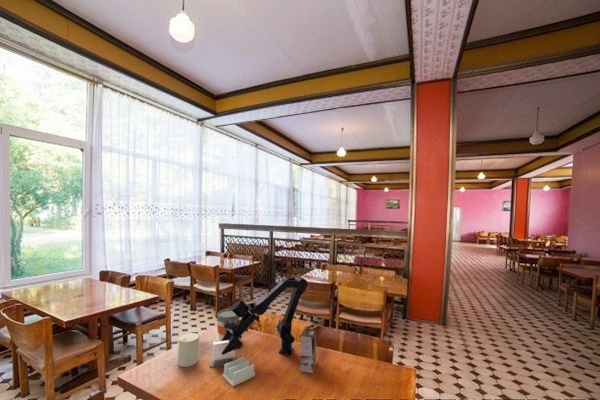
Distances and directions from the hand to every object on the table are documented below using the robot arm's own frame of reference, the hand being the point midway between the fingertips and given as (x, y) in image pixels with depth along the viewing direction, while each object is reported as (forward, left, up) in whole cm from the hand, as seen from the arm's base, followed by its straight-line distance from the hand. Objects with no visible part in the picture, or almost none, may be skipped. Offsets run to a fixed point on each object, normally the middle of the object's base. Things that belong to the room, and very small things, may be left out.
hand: (221, 349), depth 126 cm
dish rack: (+6, +13, -7) cm, 16 cm away
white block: (-1, +1, -7) cm, 7 cm away
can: (+3, -16, -7) cm, 18 cm away
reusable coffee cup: (-22, -9, -7) cm, 24 cm away
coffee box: (-10, +41, -7) cm, 43 cm away
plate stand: (-1, +1, -7) cm, 7 cm away
